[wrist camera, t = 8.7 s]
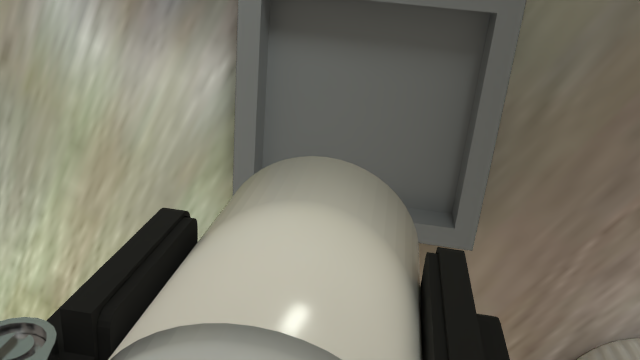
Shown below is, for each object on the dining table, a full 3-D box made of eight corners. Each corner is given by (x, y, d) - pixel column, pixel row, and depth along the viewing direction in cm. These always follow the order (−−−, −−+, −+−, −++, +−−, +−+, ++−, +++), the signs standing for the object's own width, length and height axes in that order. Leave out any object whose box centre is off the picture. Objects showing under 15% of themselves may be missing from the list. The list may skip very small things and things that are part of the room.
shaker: (434, 170, 12) (464, 424, 6) (403, 348, 14) (398, 701, 7) (222, 143, 13) (12, 344, 6) (219, 317, 15) (56, 621, 8)
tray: (517, -14, 28) (528, -11, 26) (467, 227, 34) (472, 250, 31) (254, -38, 30) (239, -38, 27) (246, 196, 35) (232, 215, 32)
